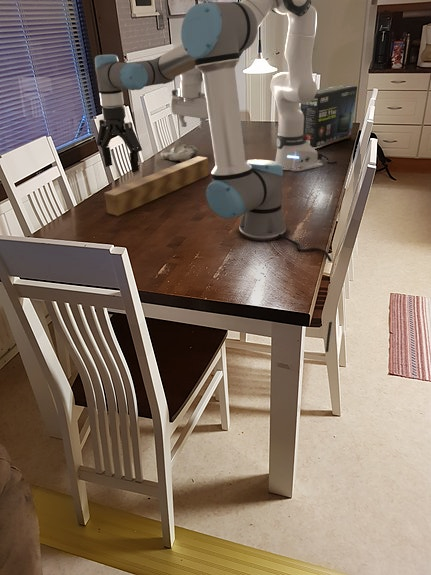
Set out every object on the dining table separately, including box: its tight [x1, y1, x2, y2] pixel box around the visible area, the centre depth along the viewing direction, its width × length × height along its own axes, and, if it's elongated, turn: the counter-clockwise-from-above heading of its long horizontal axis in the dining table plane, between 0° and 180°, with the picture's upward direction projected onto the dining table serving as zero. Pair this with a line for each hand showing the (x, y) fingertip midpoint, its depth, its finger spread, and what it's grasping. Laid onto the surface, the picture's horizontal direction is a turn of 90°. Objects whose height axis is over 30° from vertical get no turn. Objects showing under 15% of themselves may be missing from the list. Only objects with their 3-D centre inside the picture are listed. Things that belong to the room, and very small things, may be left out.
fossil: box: [160, 142, 199, 163], centre depth 229 cm, size 18×11×15 cm
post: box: [103, 155, 210, 217], centre depth 185 cm, size 55×6×8 cm, turn 144°
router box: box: [300, 84, 358, 147], centre depth 238 cm, size 36×11×27 cm, turn 134°
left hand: (121, 168), depth 165 cm, fingers open, 13 cm apart
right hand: (192, 127), depth 190 cm, fingers open, 8 cm apart
